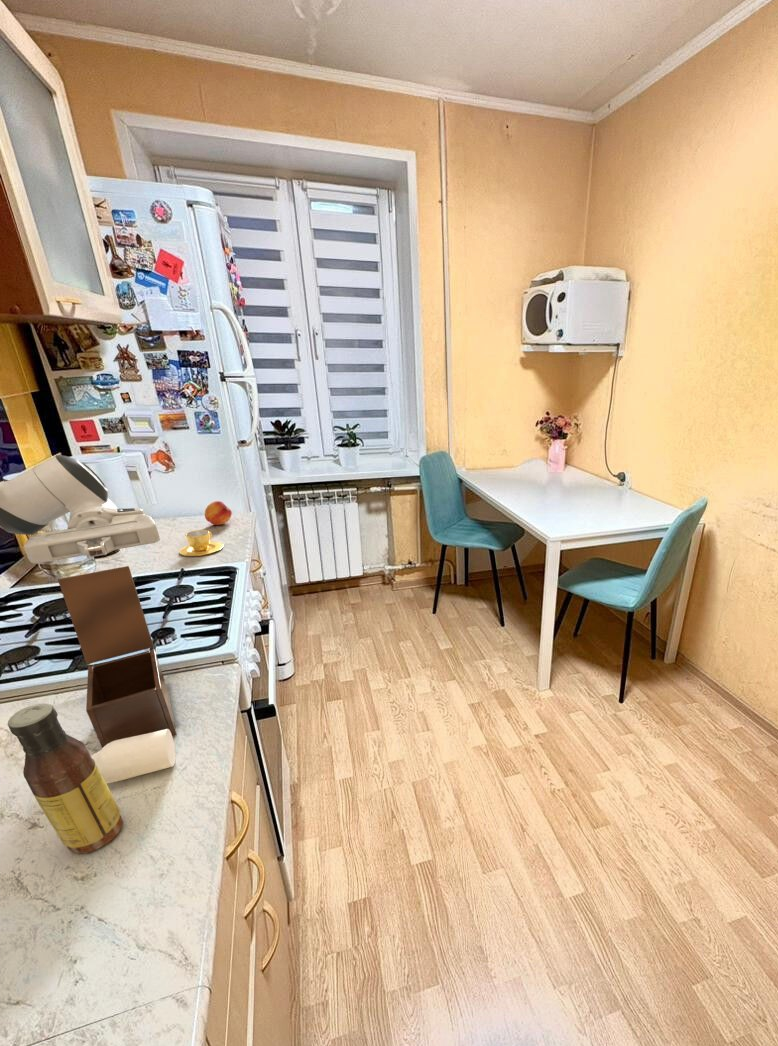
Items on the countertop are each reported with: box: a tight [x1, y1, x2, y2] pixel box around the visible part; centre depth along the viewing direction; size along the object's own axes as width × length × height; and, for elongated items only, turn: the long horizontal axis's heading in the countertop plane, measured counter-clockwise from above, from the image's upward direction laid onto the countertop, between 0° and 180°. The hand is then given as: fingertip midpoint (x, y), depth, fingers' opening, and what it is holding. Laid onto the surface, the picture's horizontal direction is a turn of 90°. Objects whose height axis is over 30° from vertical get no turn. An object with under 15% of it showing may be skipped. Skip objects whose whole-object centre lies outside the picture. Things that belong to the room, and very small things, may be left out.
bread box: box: [85, 649, 177, 749], centre depth 83 cm, size 13×9×9 cm
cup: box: [178, 529, 224, 557], centre depth 155 cm, size 12×12×5 cm
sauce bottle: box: [7, 702, 124, 854], centre depth 61 cm, size 6×6×20 cm
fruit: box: [204, 500, 233, 526], centre depth 177 cm, size 8×8×8 cm
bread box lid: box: [57, 565, 154, 665], centre depth 84 cm, size 14×9×1 cm
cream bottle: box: [90, 729, 176, 784], centre depth 74 cm, size 6×12×6 cm, turn 114°
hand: (95, 552), depth 91 cm, fingers closed
